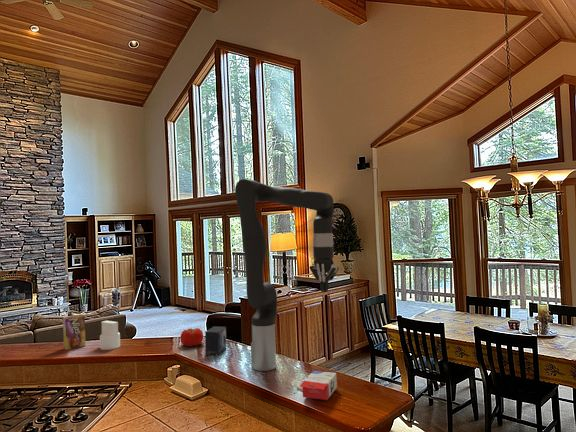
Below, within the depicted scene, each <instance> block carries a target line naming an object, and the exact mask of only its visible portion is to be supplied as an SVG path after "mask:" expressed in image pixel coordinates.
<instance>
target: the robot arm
mask: <svg viewBox="0 0 576 432" xmlns="http://www.w3.org/2000/svg"><path fill="white" fill-rule="evenodd" d="M234 194H235V200H236V204H237V210H238V214H239V219H240V227H241V228H240V229H241V238H242V247H243V252H244V254H243V255H244V263H245V274H246V275H245V276H246V277H245V278H246V299H247V302H248V304H249V305H250V306H251V307H252V308H254V309H256V311H255V312H254V314H253V315H252V317H251V341H252V342H250V363H251V364H250V365H251V367H252V368H253V370H255V371H259V372H267V371H272V370H274V369H276V368H277V356H276V355H277V352H276V349H277V348H276V347H277V346H276V323H275V322H276V321H275V320H276V317H277V311H278V310H277V309H278V306H277V305H278V304H277V303H278V296H277V295H278V294H277V289H276V288H275V286H274V285H273V284H272V283H271V282H264V278H263V277H264V276H263V268H264V263H265V260H266V256H267V248H268V247H267V239H266V233H265V230H264V228H263V225H262V223H261V221H260V219H259V217H258V214H257V210H256V203H262V202H268V203H269V202H270V203H276V204H280V205H282V206H283V205H284V206H289V207H292V208H293V207H294V208H305V209H308V210H313V211H316V216H315V218H314V219H313V223H312V225H313V226H312V227H313V228H312V229H313V230H312V231H313V238H312V249H313V250H312V251H313V253H312V255H313V258H314V261H313V264H312V265H310V266H309V270H310V272H311V273H312V275H313V276H314V278H315V280H317V281H319V286H320V287H319V288H320V292H321V293H327V292H328V291H329V282H330V281H333V279H334V278H335V276H336V275H337V273H338V271H339V267H338V266H335V264H334V261H333V258H334V238H333V237H334V236H333V223H332V221H333V216H334V208H335V207H334V206H335V203H334V199H333V197H332V195H331V194H330V193H328V192H322V191H314V190H306V189H301V188H294V187H280V186H279V187H277V186H272V185H267V184H264V183H261V182H258V181H257V180H253V179H247V178H241V179H239V180H238V181H237V183H236V185H235V187H234Z"/></svg>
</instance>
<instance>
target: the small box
mask: <svg viewBox="0 0 576 432" xmlns="http://www.w3.org/2000/svg"><path fill="white" fill-rule="evenodd" d="M204 332H205V333H204V335H205V336H204V337H205V339H204V340H205V342H204V343H205V348H204V351H205V352H204V353H205V355H204V356H217V357H218V356H219V355H221V354H222V353H223V352H225V351H226V350H227V326H216V325H215V326H211V328H208V330H206V331H204Z"/></svg>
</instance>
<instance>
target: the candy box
mask: <svg viewBox="0 0 576 432" xmlns="http://www.w3.org/2000/svg"><path fill="white" fill-rule="evenodd" d="M85 321H86V320H85V314H83V313H80V314H75V315H74V314H73V315H69V316H68V315H67V316H63V317H62V322H63V323H62V326H63V327H62V329H63V331H62V334H63V349H64V350H66V351H67V350H73V349H79V348H82V347H85V346H86V324H85V323H86V322H85Z"/></svg>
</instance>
